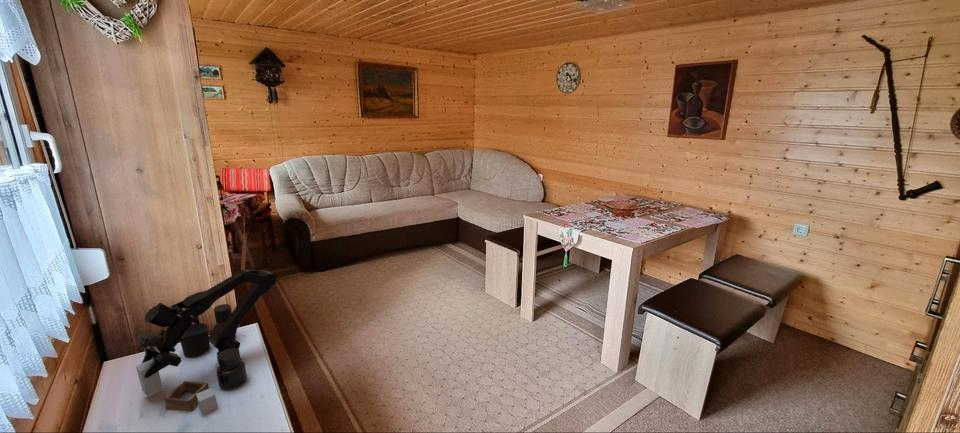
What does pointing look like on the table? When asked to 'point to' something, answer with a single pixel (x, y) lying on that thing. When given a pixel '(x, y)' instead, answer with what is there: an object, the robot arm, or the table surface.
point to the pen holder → (196, 340)
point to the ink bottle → (230, 369)
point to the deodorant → (222, 313)
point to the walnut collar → (183, 404)
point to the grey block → (206, 401)
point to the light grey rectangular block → (149, 379)
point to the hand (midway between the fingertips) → (143, 374)
